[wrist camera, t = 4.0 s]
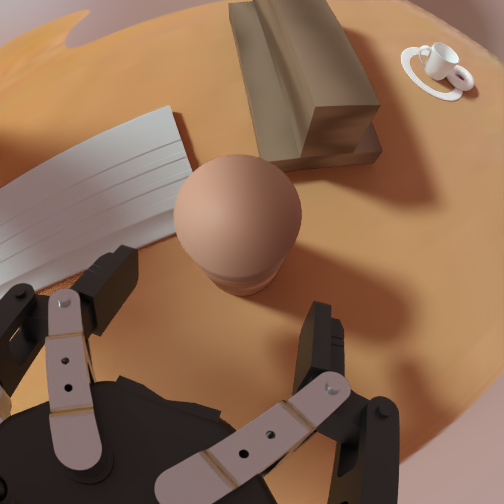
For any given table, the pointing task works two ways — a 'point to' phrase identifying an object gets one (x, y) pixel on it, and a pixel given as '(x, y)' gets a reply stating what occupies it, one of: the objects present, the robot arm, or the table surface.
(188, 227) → the pink domed cylinder
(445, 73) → the teacup and saucer
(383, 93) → the table surface
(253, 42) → the ridge
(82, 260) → the baseboard molding
